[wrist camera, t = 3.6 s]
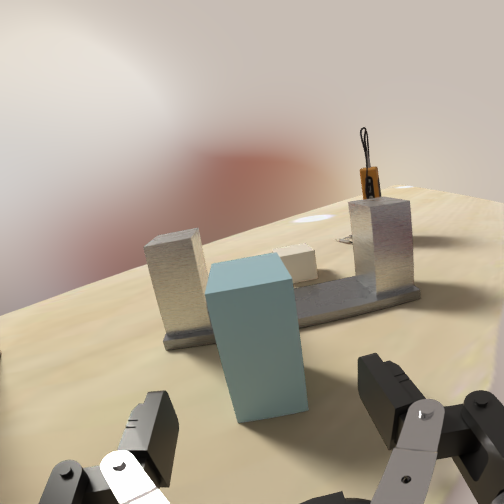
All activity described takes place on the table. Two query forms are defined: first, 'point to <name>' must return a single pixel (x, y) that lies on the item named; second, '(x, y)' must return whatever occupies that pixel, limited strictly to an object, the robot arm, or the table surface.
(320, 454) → the table surface
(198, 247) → the grey u-shaped metal stand
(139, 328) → the table surface
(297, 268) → the block
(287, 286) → the block
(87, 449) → the table surface
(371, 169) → the multimeter
